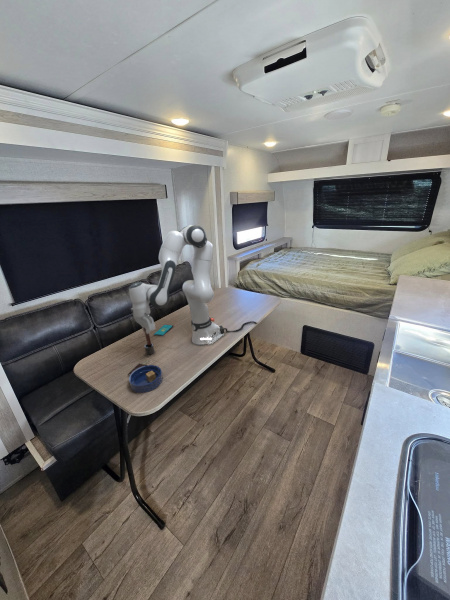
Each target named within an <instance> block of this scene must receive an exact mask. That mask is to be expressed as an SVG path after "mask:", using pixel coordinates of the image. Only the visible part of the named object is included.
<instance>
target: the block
mask: <svg viewBox="0 0 450 600" xmlns="http://www.w3.org/2000/svg"><path fill="white" fill-rule="evenodd" d="M146 378H147V380H148V381H149V382H152V381H154V380H155V379H156V375H155V373H154V372H153V371H150V372H148V373H146Z"/></svg>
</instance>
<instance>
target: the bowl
mask: <svg viewBox="0 0 450 600" xmlns="http://www.w3.org/2000/svg"><path fill="white" fill-rule="evenodd" d="M145 365H146V366H143V367H140V368H138V369H136V370H135V371H133V372H132V373H131V375H129V377H128V383H129V386H130V389H131V390H132V392H134V393H136V394H137V393H138V394H144V393H149V392H151V391H153V390H156V389H157V388H158V387H159V386H160V385H161V384H162V383H163V379H164V376H163V371H162V368H161V367H160V366H158V365H155V364H148V365H147V364H145ZM150 371H153V372H154V373H155V375H156V379H155V380H154V381H152V382H149V381H148V380H147V378H146V373H148V372H150Z"/></svg>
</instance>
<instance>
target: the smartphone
mask: <svg viewBox="0 0 450 600" xmlns="http://www.w3.org/2000/svg"><path fill="white" fill-rule="evenodd" d="M173 326H174V325H171V324H163V325H162V326H161V327H160V328H159V329H158V330H157V331H155V332H154V333H153V335H154V336H160V337H163V336H165V335H166V333H168V332H169V331H170V330H171V329H172V328H173Z"/></svg>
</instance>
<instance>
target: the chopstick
mask: <svg viewBox="0 0 450 600" xmlns="http://www.w3.org/2000/svg"><path fill="white" fill-rule="evenodd" d="M143 328H144V327H143ZM143 328H142V329H143ZM143 333H144V336H145V340H146V341H145V342H146V344H147V345H151V343H152V341H151V336H150V333H149V334H146V329H145V328H144V331H143Z"/></svg>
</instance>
